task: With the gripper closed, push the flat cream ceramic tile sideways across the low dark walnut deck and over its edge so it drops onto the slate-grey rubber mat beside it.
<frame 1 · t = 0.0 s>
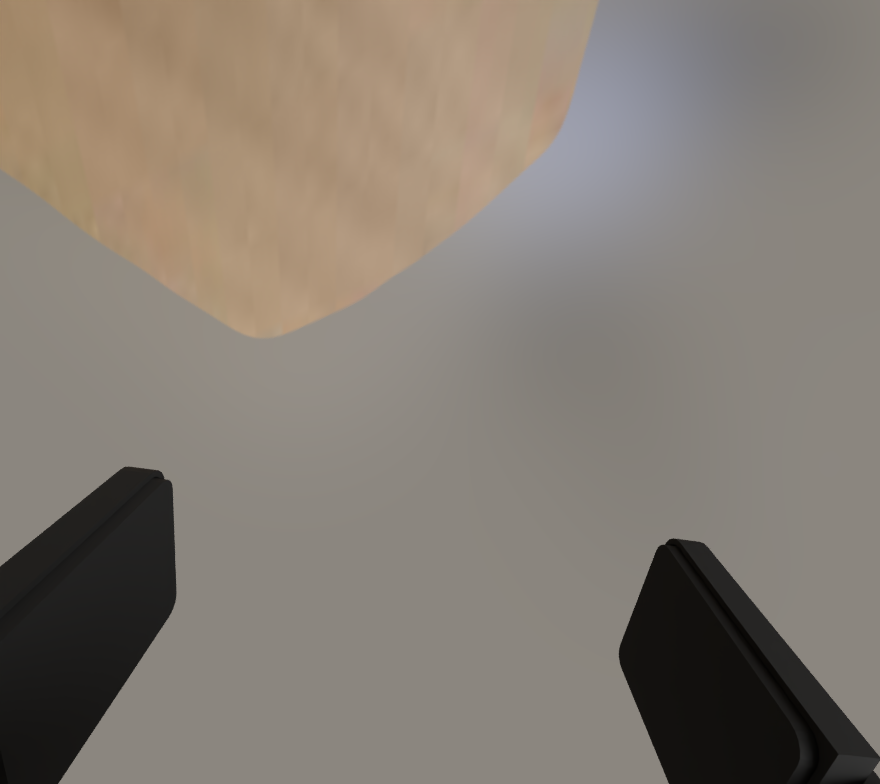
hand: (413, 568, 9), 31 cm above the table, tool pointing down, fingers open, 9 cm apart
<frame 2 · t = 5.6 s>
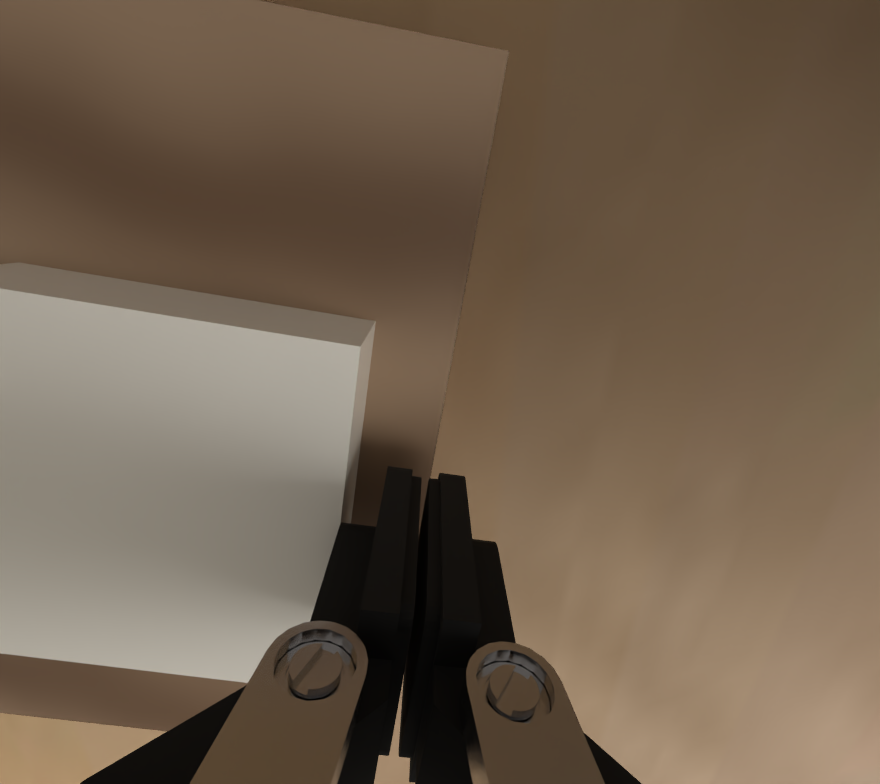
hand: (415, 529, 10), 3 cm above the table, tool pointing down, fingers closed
deck: (139, 406, 13), on the table
tile: (202, 466, 11), point 2 cm above the table, touching deck, gripper
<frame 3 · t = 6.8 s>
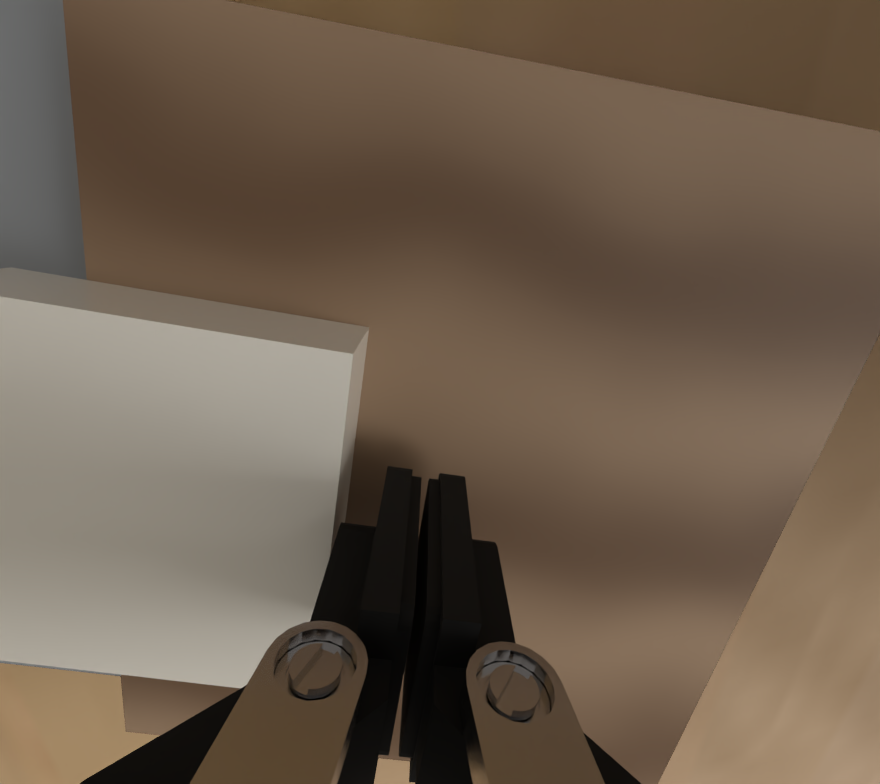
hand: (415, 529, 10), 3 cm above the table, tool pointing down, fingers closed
deck: (449, 456, 14), on the table
tile: (195, 472, 11), point 3 cm above the table
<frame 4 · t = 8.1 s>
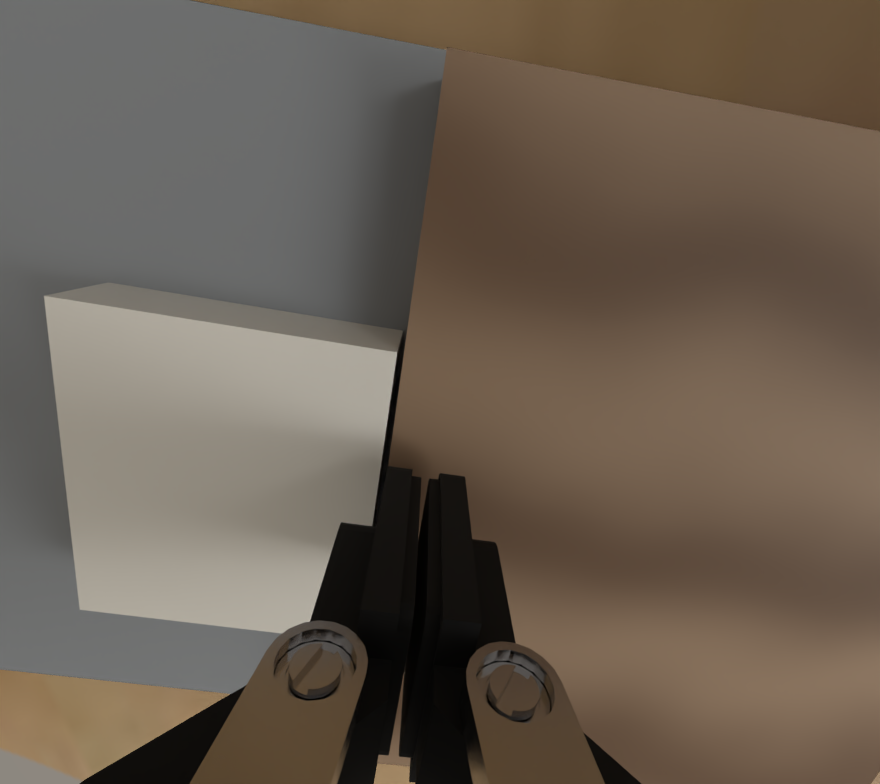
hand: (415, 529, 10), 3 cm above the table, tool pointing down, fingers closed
mat: (59, 405, 13), on the table
deck: (665, 490, 14), on the table
tile: (253, 453, 13), resting on mat
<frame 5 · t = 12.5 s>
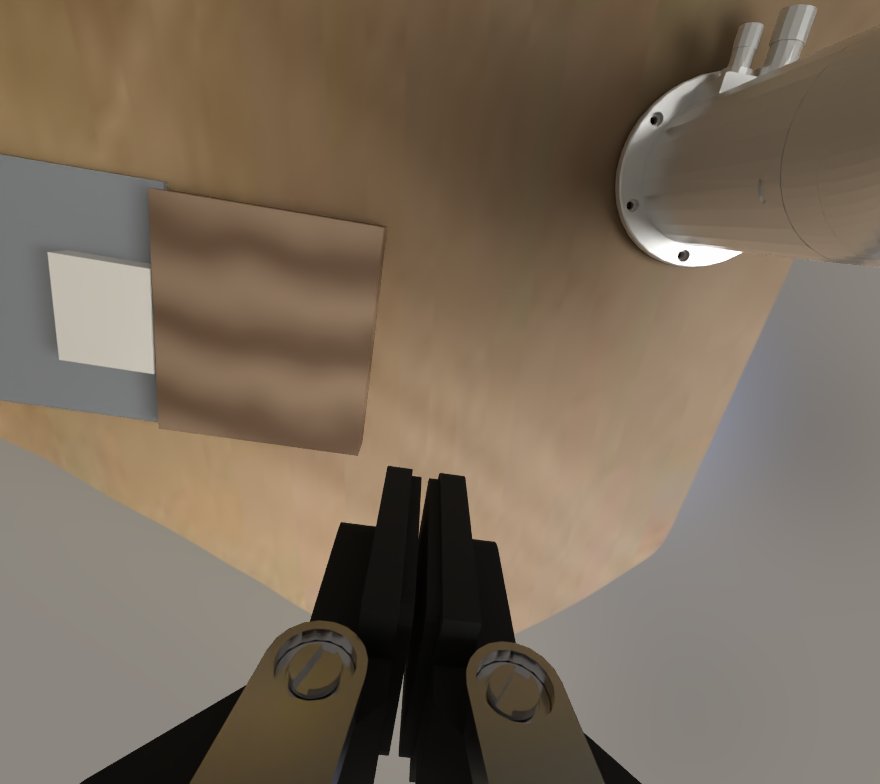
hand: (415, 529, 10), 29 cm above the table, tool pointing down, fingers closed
mat: (52, 294, 37), on the table
deck: (273, 327, 38), on the table
tile: (119, 310, 37), resting on mat
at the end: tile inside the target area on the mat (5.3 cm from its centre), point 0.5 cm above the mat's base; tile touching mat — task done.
